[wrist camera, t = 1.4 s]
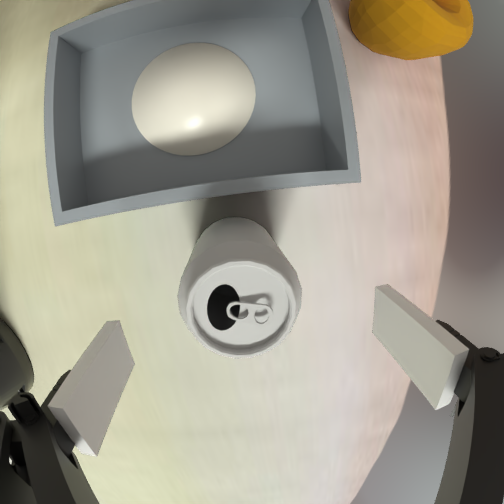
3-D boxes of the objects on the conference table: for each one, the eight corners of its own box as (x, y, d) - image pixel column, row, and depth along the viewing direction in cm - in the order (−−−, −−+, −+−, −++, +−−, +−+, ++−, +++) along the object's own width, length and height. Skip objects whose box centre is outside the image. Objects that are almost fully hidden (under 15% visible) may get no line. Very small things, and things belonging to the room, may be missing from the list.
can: (198, 211, 25) (175, 240, 14) (280, 220, 26) (321, 255, 15) (192, 288, 27) (172, 363, 16) (268, 295, 28) (295, 371, 17)
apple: (387, 95, 24) (472, 63, 11) (310, 24, 21) (358, -49, 9) (428, 49, 22) (499, 18, 10) (363, -13, 20) (415, -68, 7)
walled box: (86, 215, 24) (55, 226, 19) (77, 52, 20) (50, 32, 14) (333, 180, 26) (361, 182, 20) (307, 15, 21) (324, -14, 15)
